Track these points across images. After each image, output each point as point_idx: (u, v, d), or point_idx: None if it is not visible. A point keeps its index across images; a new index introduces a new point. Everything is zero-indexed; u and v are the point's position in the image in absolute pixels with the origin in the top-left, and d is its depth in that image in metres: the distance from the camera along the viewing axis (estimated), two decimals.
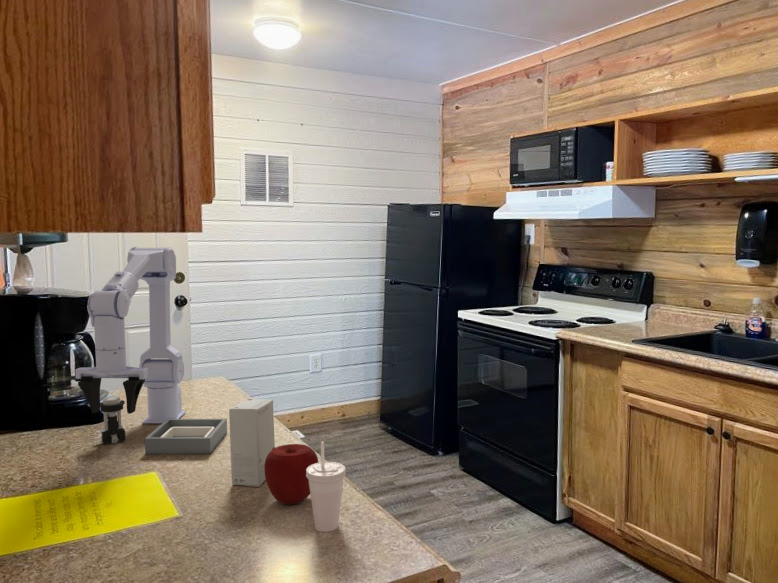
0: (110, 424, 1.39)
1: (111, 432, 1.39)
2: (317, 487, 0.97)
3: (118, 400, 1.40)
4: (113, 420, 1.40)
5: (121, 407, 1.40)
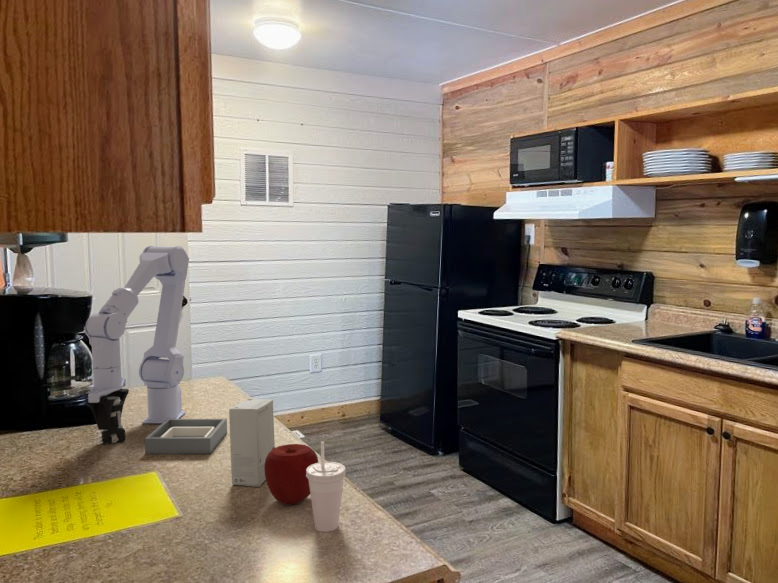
0: None
1: (111, 432, 1.39)
2: (317, 487, 0.97)
3: (118, 400, 1.39)
4: (113, 420, 1.40)
5: (121, 407, 1.39)
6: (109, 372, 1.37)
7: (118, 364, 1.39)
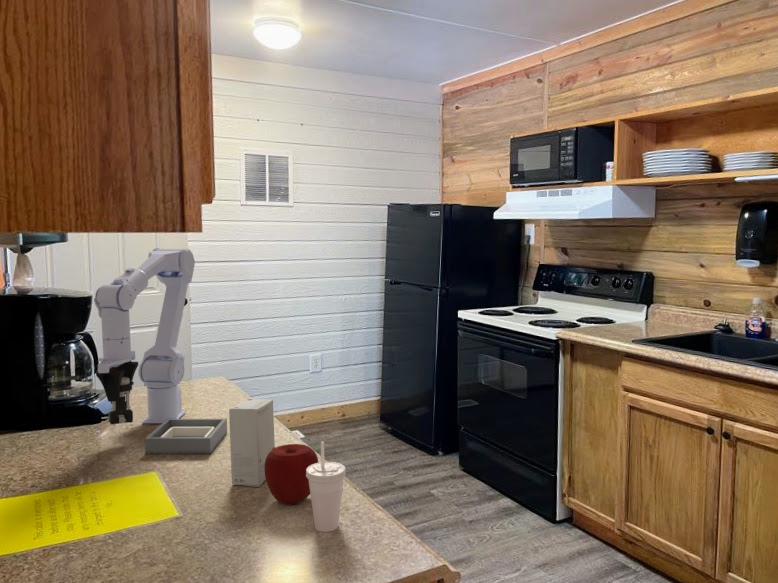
0: (118, 404, 1.38)
1: (119, 412, 1.38)
2: (317, 487, 0.97)
3: (127, 380, 1.39)
4: (121, 400, 1.39)
5: (130, 387, 1.39)
6: (119, 343, 1.36)
7: (128, 335, 1.38)
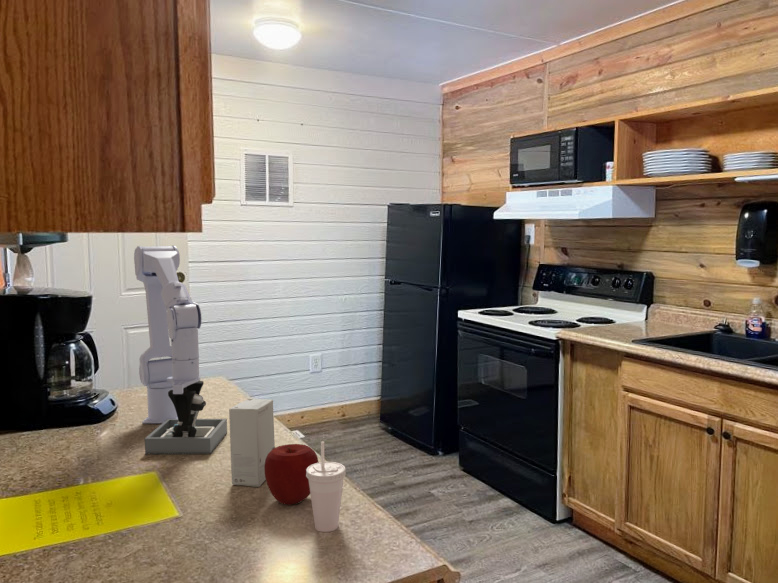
0: None
1: (184, 429, 1.38)
2: (317, 487, 0.97)
3: (202, 400, 1.39)
4: (190, 417, 1.38)
5: (202, 408, 1.39)
6: (190, 363, 1.36)
7: None
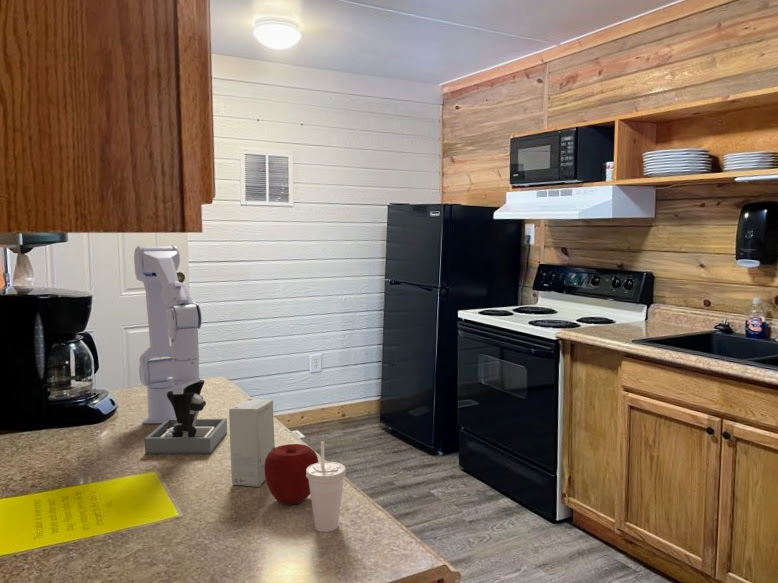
0: None
1: (184, 429, 1.38)
2: (317, 487, 0.97)
3: (202, 400, 1.39)
4: (190, 417, 1.38)
5: (202, 408, 1.39)
6: (190, 364, 1.36)
7: None
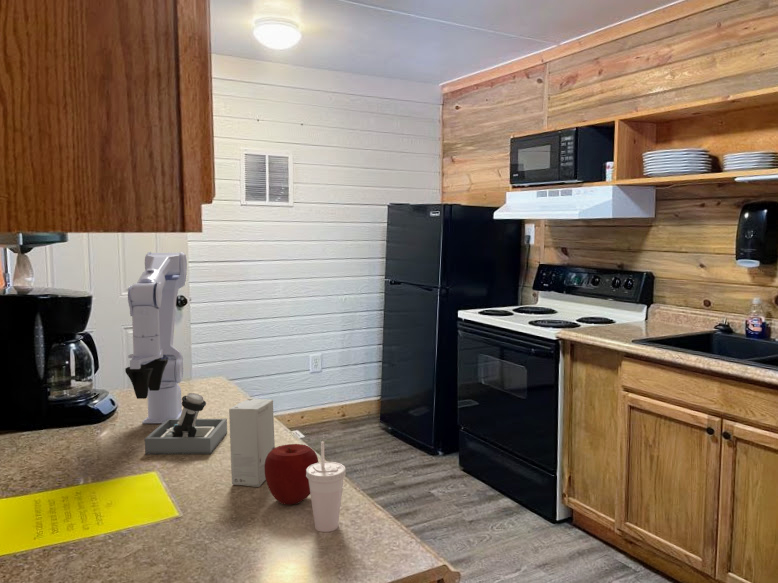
0: (186, 420, 1.38)
1: (184, 429, 1.38)
2: (317, 487, 0.97)
3: (202, 400, 1.39)
4: (190, 418, 1.38)
5: (202, 408, 1.39)
6: (149, 340, 1.39)
7: (159, 332, 1.42)
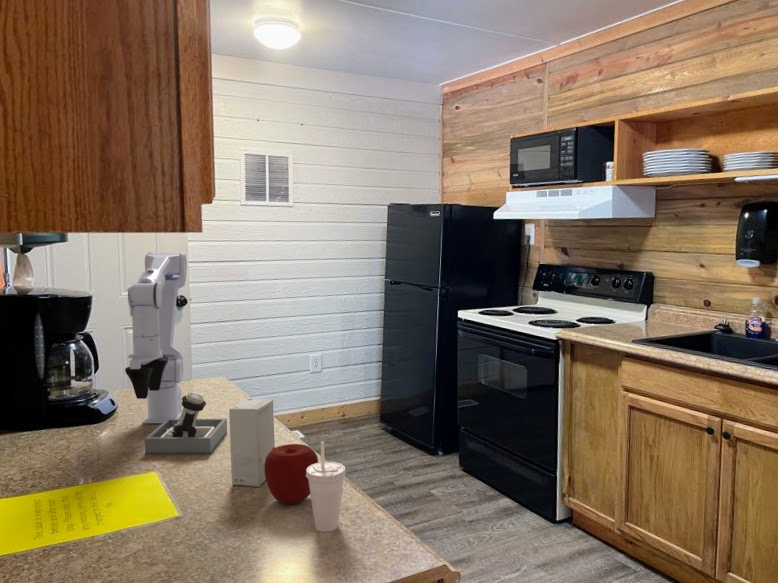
0: (186, 420, 1.38)
1: (184, 429, 1.38)
2: (317, 487, 0.97)
3: (202, 400, 1.38)
4: (190, 418, 1.38)
5: (202, 408, 1.39)
6: (149, 340, 1.39)
7: (159, 332, 1.42)
